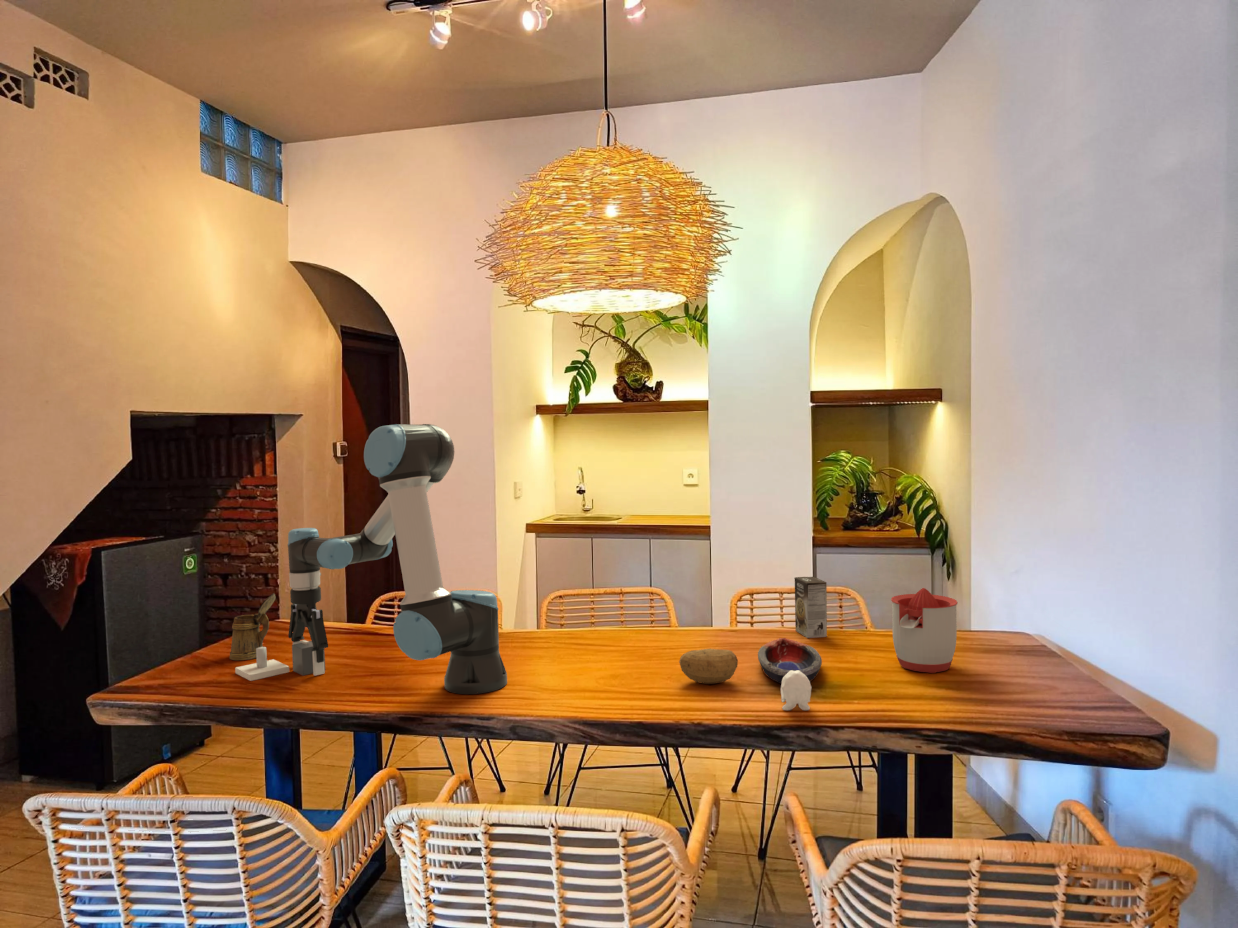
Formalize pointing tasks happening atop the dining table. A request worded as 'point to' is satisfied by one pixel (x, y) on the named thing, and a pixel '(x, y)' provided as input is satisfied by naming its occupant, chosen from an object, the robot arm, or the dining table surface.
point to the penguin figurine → (795, 690)
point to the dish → (788, 659)
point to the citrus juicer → (924, 631)
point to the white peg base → (261, 667)
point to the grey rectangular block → (303, 657)
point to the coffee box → (811, 607)
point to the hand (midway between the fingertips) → (309, 669)
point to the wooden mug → (250, 632)
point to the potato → (709, 665)
